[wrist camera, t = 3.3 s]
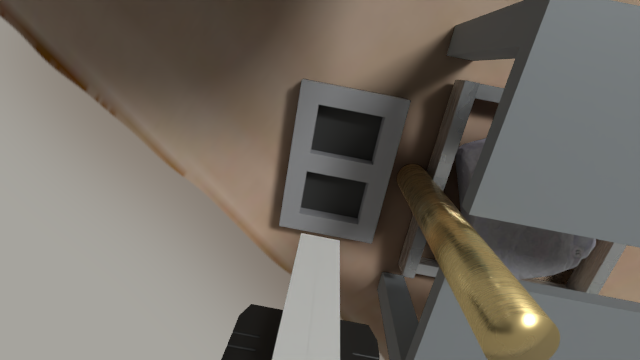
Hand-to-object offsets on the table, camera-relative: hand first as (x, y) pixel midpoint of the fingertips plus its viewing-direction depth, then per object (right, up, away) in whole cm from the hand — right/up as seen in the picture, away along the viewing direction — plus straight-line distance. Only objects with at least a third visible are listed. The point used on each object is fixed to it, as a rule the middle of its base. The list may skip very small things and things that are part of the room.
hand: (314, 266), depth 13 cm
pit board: (+2, +5, +14) cm, 15 cm away
